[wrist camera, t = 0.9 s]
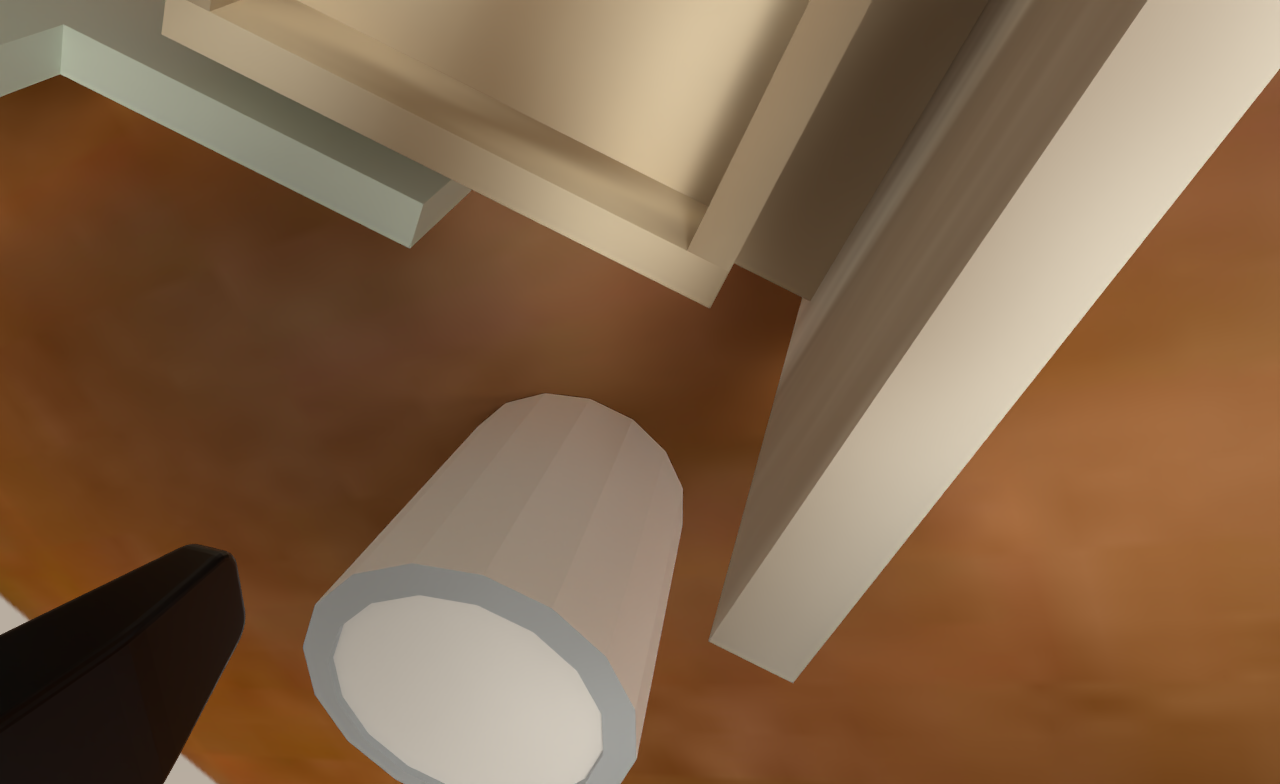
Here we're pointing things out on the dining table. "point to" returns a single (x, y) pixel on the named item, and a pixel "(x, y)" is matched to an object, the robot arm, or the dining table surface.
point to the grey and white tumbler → (509, 606)
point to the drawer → (806, 200)
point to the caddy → (220, 110)
